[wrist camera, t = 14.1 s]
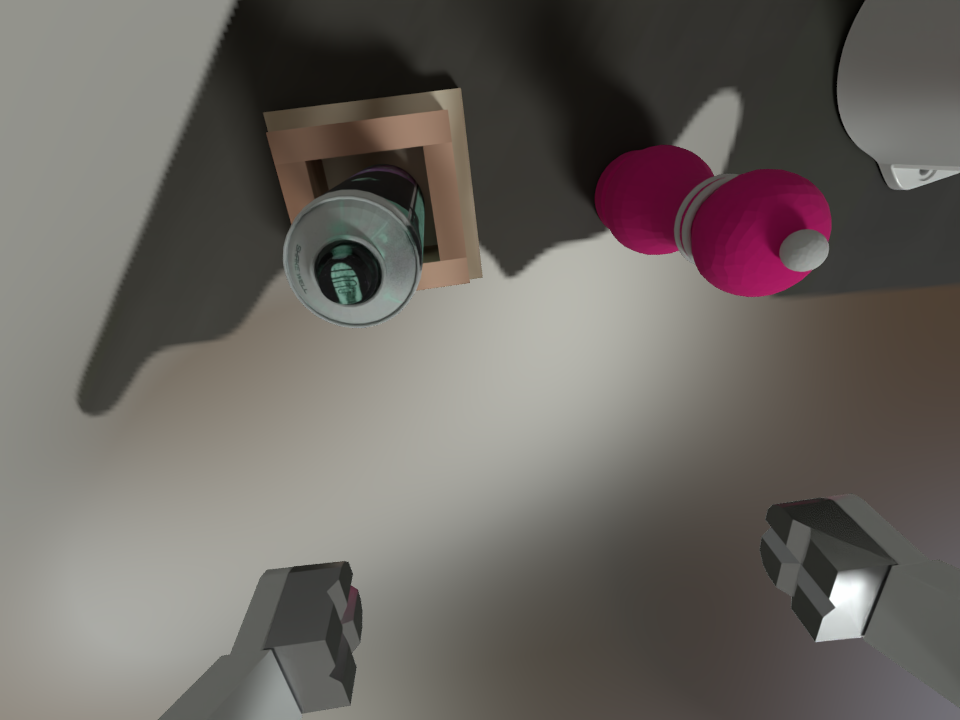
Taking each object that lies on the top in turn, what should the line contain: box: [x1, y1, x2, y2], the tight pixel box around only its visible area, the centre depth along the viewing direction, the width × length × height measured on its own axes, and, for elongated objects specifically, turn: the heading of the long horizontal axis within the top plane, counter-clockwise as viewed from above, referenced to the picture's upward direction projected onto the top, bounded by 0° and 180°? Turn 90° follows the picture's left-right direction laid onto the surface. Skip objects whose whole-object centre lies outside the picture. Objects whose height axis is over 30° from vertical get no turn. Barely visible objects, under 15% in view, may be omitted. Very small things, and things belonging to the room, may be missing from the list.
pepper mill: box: [595, 145, 831, 297], centre depth 29 cm, size 7×7×20 cm
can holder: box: [263, 88, 482, 291], centre depth 34 cm, size 13×13×6 cm
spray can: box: [283, 164, 425, 328], centre depth 26 cm, size 6×6×20 cm
